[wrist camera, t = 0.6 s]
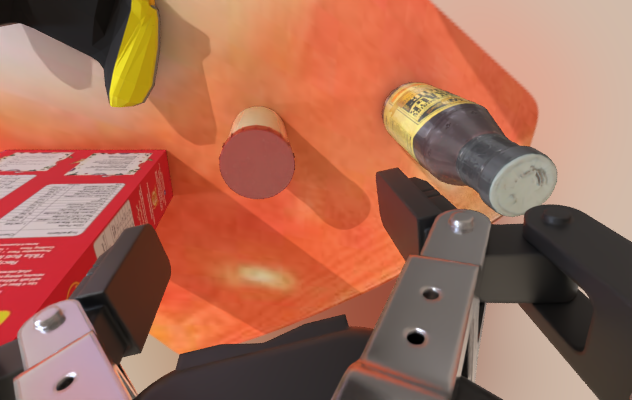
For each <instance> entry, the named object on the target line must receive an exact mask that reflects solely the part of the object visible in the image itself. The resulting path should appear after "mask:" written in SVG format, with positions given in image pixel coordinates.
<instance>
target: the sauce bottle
mask: <svg viewBox="0 0 632 400" xmlns="http://www.w3.org/2000/svg"><path fill="white" fill-rule="evenodd" d="M382 118H383V122H384V125H385V128H386V130H387V131H388V133H389V134H390V135H391V136H392V137H393V138H394V139H395V140H396V141H397V142H398V143H399V144H400V145H401V146H402V147H403V148H404V149H405V150H406V151H407V152H408V153H409V154H410V155H411V156H412V157H413V158H414V159H415V160H416V161H417V162H418V163H419V164H420V165H421V166H422V167H424V168H425V169H427V170H428V171H429V172H430V173H431V174H432V175H433V176H434V177H436V178H437V179H438V180H440V181H442V182H445V183H447V184H451V185H458V186H459V185H460V186H463V185H466V186H467V185H468V186H469V187H471V188H473V189H474V190H475V191H477V192H478V193H479V195H480V197H481V199H482V200H483V202H484V203H485V204H487V205H488V206H489V207H490V208H492V209H493V210H494V211H495V212H497V213H499V214H501V215H504V216H509V217H515V216H520V215H524V214H525V212H526V211H527V210H528V209H530V208H532V207H535V206H539V205H542V203H544V202H545V201H546V200H547V199H548V198H549V197H550V195H551V194H552V192H553V190H554V188H555V185H556V182H557V169H556V167H555V165H554V163H553V162H552V160H551V159H550V158H549V157H548V156H546V155H545V154H543V153H541V152H539V151H538V150H536V149H534V148H532V147H527V146H519V145H518V144H516V143H514V142H512V141H510V140H509V139H508V138H507V137H506V136H505V135H504V133H503V132H502V131H501V129H500V128H499V126H498V125H497V123H496V122H495V121H494V119H493V118H492V116H491V115H490V113H489V112H488V110H487V109H486V108H484V107H483V106H481V105H478V104H476V103H474V102H471V101H469V100H466V99H464V98H461V97H459V96H457V95H454V94H452V93H449V92H447V91H444V90H441V89H438V88H436V87H433V86H431V85H428V84H425V83H414V82H409V83H406V84H404V85H401V86H399V87H398V88H396V89H395V90H393V91H392V92H391V93H390V94H389V96H388V97H387V99H386V101H385V104H384V107H383V109H382Z"/></svg>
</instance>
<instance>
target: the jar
mask: <svg viewBox="0 0 632 400" xmlns="http://www.w3.org/2000/svg"><path fill="white" fill-rule="evenodd" d="M255 124H257V125H262V126H267V127H269V126H270V128H272V129H274V130H276V131H278V132H279V133H280V132H281V133H282V135H283V136H284V137H285V138H286V140H287V141H288V138H287V133H286V129H285V125H284V123H283V121H282V119H281V118H280V117H279V115H278V114H277V113H275V112H274V111H273V110H271V109H268V108H266V107H260V106H255V107H250V108H247V109H245V110H243V111H242V112H241V113H239V114H238V116H237V117H236V118H235V120H234V122H233V125H232V128H231V131H230V134H229V137H230V136H231V133H234V132H235V131H237V130H239V129H241V128H242V127H243V126H244V127H246V126H251V125H255ZM229 137H228V138H229Z"/></svg>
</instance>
